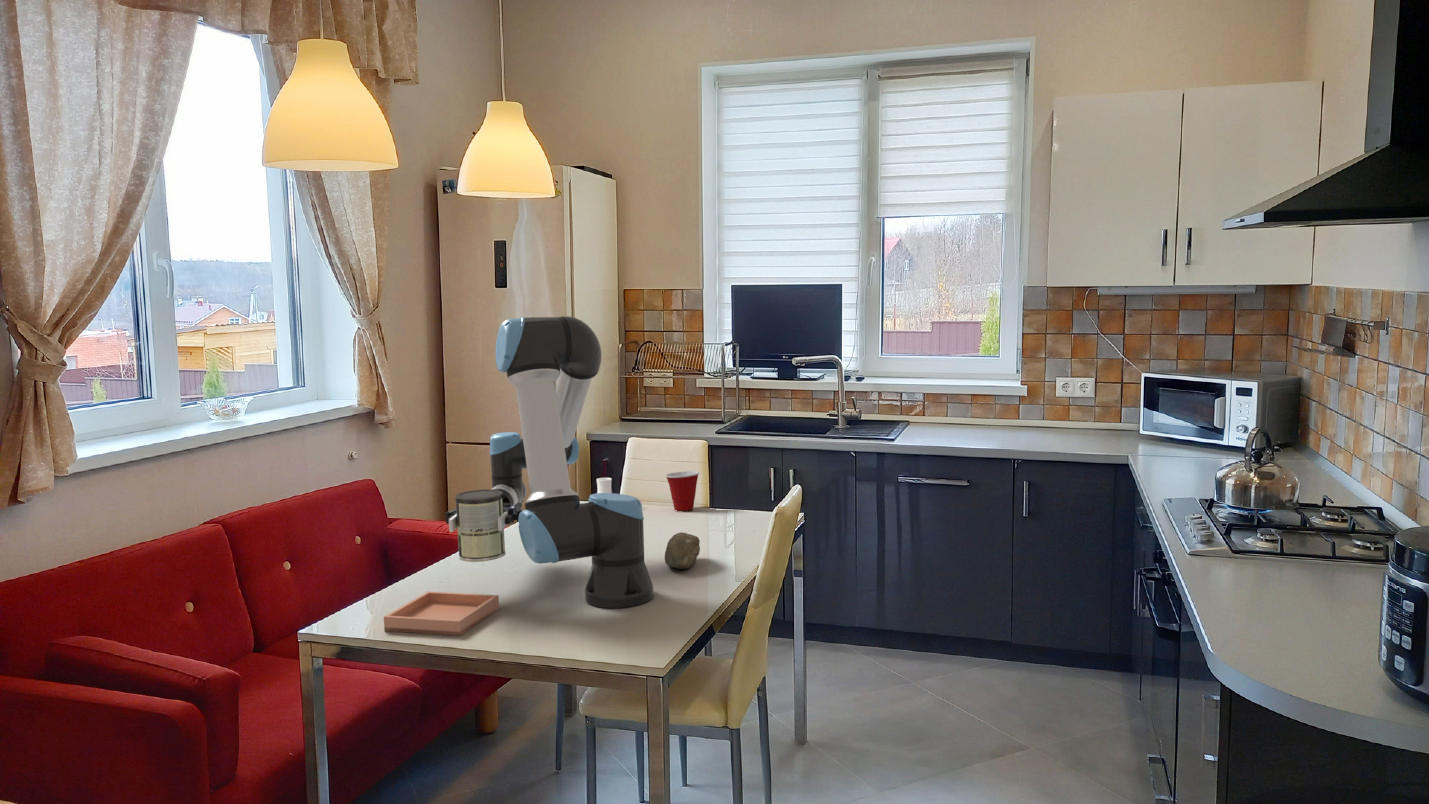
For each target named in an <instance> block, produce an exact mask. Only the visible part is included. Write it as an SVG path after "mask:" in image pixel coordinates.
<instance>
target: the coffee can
mask: <svg viewBox="0 0 1429 804" xmlns="http://www.w3.org/2000/svg"><path fill="white" fill-rule="evenodd" d="M491 489H492V488H491ZM491 489H487V488H486V489H485V488H484V489H472V490H467V491H463V492H459V493H457V494H456V495H455V496H454V500H455V509H456V514H457V529H456V530H457V543H458V544H457V545H458V559H459V560H460V561H463V562H468V563H469V562H470V563H480V562H482V563H483V562H490V561H494V560H498V559H501V558H502V557H505V556H506V543H505V528H504V529H503V530H502V531H498V518H499V517H500V516H501V515H502V514H503V504H502V496H503V492H502V491H499V490H491Z"/></svg>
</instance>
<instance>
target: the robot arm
mask: <svg viewBox="0 0 1429 804" xmlns="http://www.w3.org/2000/svg"><path fill="white" fill-rule="evenodd" d="M497 331H498V332H497V337H496V341H495V342H496V343H495V362H496V363H495V364H496V366H497V367H496V368H497V370H498V371H499V372H501V373H503V374H504V373H506V376H507V382H508V383H509V384H511V385H512V386H514V387H515V390H516V391H515V393H516V398H517V404H518V405H517V406H518V412H519V419H520V420H519V421H520V427H521V428H520V429H521V434H522V438H521V434H520V433H518V432H514V431H513V432H512V431H509V432H507V431H506V432H505V431H504V432H497V433H494V434H492V435H491V436H490V438H489V439H490V442H489V457H490V470H491V471H490V472H491V490H499V491H502V492H503V496H502V504H503V514H502V515H501V516H500V517H499V518H498V531H502V530H503V529H504V530H505V528H506V527H507V525H511V524H513V523H515V521H516V522H517V523H518V532H519V535H520V541H521V543H522V546H523V549H524V551H525V552H526V553H525V554H526V555H527V556H528V558H529V559H530V561H532V562H534V563H536V564H550V563H552V564H556V563H558V562H565V561H571V560H577V559H583V558H590V557H591V566H590V567H591V568H590V571H589V575H588V578H587V582H586V584H585V585H586V586H585V588H584V600H585V602H586V603H587V604H589V605H592V606H594V607H597V608H598V607H599V608H606V609H607V608H609V609H621V608H630V607H631V608H632V607H634V606H635V607H637V606H640V605H643V604H645V603H648V602H650V601H651V600H653V598H654V585H653V582H652V579H651V576H650V573H649V571H648V568H647V565H646V563H645V562H646V561H645V542H644V541H645V538H644V536H645V535H644V519H645V517H644V513H643V503H642V502H641V500H640V499H639V498H637V497H635V496H633V495H629V494H623V493H613V492H612V493H597V492H596V493H592V494H590V495H589V496H588V497H589V498H588V500H587V501H588V502H584V503H581V502H580V501H581V500H580V496H579V493H577V492H576V491H575V490H573V489H572V488H571V482H570V476H569V468H568V465H570V464H571V465H572V464H575V463H576V462H577V461H578V459H579V455H580V454H579V452H580V446H579V441H578V439H577V437H576V436H575V434H576V431H577V428H578V424H579V421H580V418H581V414H582V412H583V408H584V405H585V402H586V399H587V395H588V391H589V388H590V385H591V382H592V379H594V378H596V376H597V375H598V373H599V371H600V367H601V364H602V348H601V344H600V340H599V338H598V337H597V335H596V333H595V332H594V331H593V329H592V328H591V327H590V326H589V325H588V324H587V323H586V322H584V321H583V320H581V319H578V318H576V317H572V316H543V317H542V316H541V317H540V316H539V317H537V316H536V317H535V316H534V317H531V316H529V317H524V316H521V317H518V318H507V319H506V320H504V321H503V322H502V323H501V325H500V326H499V328H498V330H497ZM556 381H557V382H556ZM523 470H526V472H527V476H528V484H529V492H530V494H529V496H528V498H527V499H526V500H525V498H526V494H527V490H526V489H527V488H526V485H525V483H524V482H523ZM524 500H525V502H524ZM523 502H524V508H525V509H523ZM445 524H447V525H448V530H449V533H453V532H454V531H456V530H457V514H456V508H454V509H451V510H448V511H447V512H445Z"/></svg>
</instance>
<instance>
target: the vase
mask: <svg viewBox="0 0 1429 804" xmlns="http://www.w3.org/2000/svg"><path fill="white" fill-rule="evenodd" d="M596 485H597V486H596V487H597V492H596V493H613V491H612V478H611V477H599V478H596Z"/></svg>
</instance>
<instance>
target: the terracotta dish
mask: <svg viewBox="0 0 1429 804" xmlns="http://www.w3.org/2000/svg"><path fill="white" fill-rule="evenodd" d="M499 599H500V598H499V594H484V593H483V594H482V593H481V594H478V593H465V592H463V593H461V592H443V591H441V592H440V591H426V592H424V593H423V594H421V595H419V596H418V597H416V598H414V599H412V600H410V601H409V602H407V603H406V604H404V605H402V606H400V607H398V608H397V609H395V610H393V611H391V612H389V613H387V614H386V615H384V616H383V628H384V631H385V630H386V631H385V632H391V631H396V632H395V633H407V632H415V633H414V634H421V635H422V634H425V635H437V636H438V635H439V636H452V635H454V636H455V637H461V636H463V635H464V634H465V633H467V632H468V631H470V630H471V629H472V628H474V627H476V625H478V624H480V623H481V622H482V621H484V620H486V619H487V618H488V617H490V616H491V615H492V614H494V613H495V612H497V611H498V610H499V609H500V600H499ZM454 636H453V637H454Z"/></svg>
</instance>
